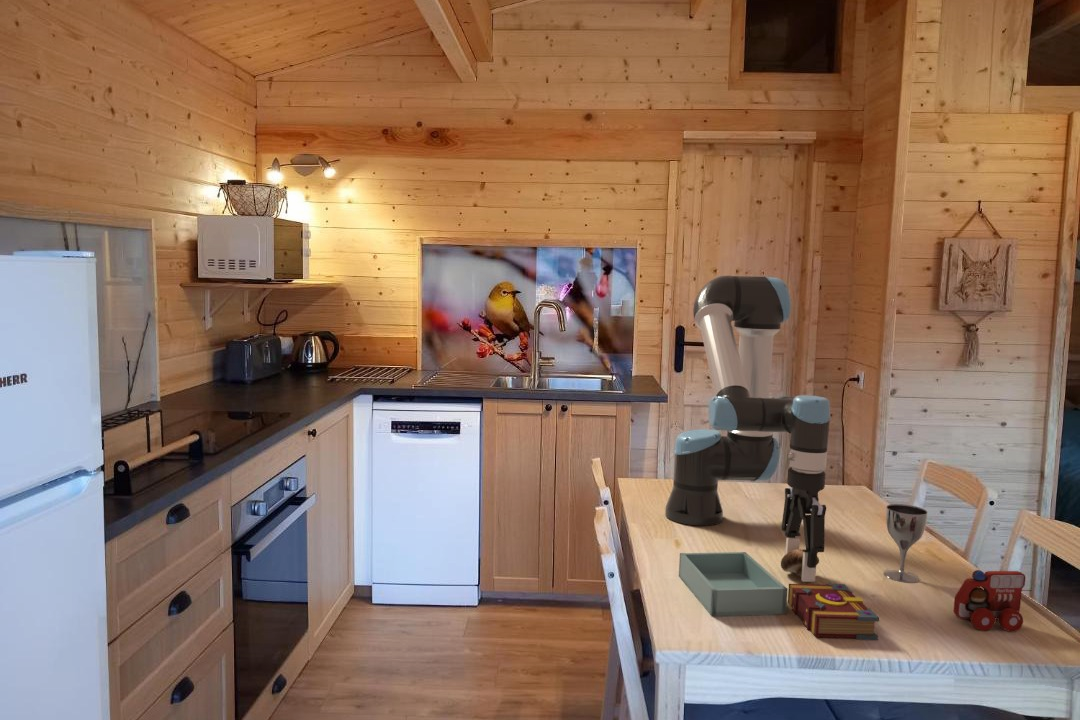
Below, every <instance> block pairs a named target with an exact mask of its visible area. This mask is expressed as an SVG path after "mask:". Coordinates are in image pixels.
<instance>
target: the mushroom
mask: <svg viewBox="0 0 1080 720" xmlns="http://www.w3.org/2000/svg"><path fill="white" fill-rule="evenodd" d="M802 563H803V549H802V548H799V549H797V550H792V551H790V552H788V553H787V554H786V555H785V554H784V555H783V557H782V558H781V560H780V568H781V569H782V570H783V571H784V572H789V573H795V574H796V575H797V576H798V577H802ZM819 563H820V559H819V557H818V556H817V563H816V566H817V565H819Z"/></svg>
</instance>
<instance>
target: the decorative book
mask: <svg viewBox="0 0 1080 720" xmlns="http://www.w3.org/2000/svg"><path fill="white" fill-rule="evenodd" d="M787 603H788V605H789V606H790V607H791V610H790V611H791V612H792V613H793V614H794V615H797V616H798V617H799V618H800V619H801V621H802V622H803V627H806V628H807V629H806V628H805V629H806V630H807V631H810V632H811V633H812V634H813V635H814V637H815V638H836V639H837V638H840V639H841V638H843V639H845V638H846V639H856V640H865V641H867V640H868V641H869V640H870V641H878V640H879V636H878V635H877V633H875V625H876V624H875V623H876V622H880V616H879V615H877V613H875V612H874V611H873V610H872V609H871V608H870V607H869V608H868V607H867V606H866V605H865V604H864V600H863V599H862V598H861V597H858V596H857V597H856V595H855V594H854V593H853V591H852V590H851V589H850V587H848V586H847V585H846V584H845V583H825V584H815V583H788V590H787Z"/></svg>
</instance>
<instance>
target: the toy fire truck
mask: <svg viewBox="0 0 1080 720" xmlns="http://www.w3.org/2000/svg"><path fill="white" fill-rule="evenodd" d="M971 576H972V577H970V578H966V579H964V581H963V583H962V585H961V586H960V588H959V589H958V591H957V592H956V594H955V596H954V601H953V614H954V615H955V616H956V617H958V618H959V619H970V623H971V625H973V627H974V628H976V629H977V630H979V631H981V632H982V631H983V632H987V631H989V630H991V629H993V627H994V626H995V624H996V619H997V621H998V622H997V623H998V626H1000V627H1001V628H1002V629H1004V630H1005V631H1007V632H1016V631H1018V630H1020V629H1021V628H1022V626H1023V625H1024V624H1023V623H1024V617H1023V615H1022V614H1021V613H1020V611H1021V609H1020V608H1021V601H1022V600H1021V599H1022V592H1023V591H1022V590H1023V589H1024V587H1025V586H1026V575H1025V574H1024V573H1022V572H1021V571H1018V570H1007V571H1006V570H987V571H985V572H984V571H982V570H980V569H976V570H974V571H973V572H972V575H971Z"/></svg>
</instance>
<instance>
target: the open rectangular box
mask: <svg viewBox="0 0 1080 720" xmlns="http://www.w3.org/2000/svg"><path fill="white" fill-rule="evenodd" d="M678 563H679V565H678V577H679V578H680V580H681V581H682V582H683V583H684V585H685V586H686V587H687V588H688V589H689V591H690V592H691V593H692V594H693V595H694V597H695V598H696V599H697V601H699V603H701V605H702V607H704V609H705V610H706V611H707V612H708V614H709V615H710V616H711V617H734V616H735V617H737V616H738V617H739V616H769V615H772V616H773V615H786V614H787V605H788V604H787V603H788V590H789V588H787V587H786V586H785V585H784V584H783V583H781V582H780V581H779V579H778V578H776V577H775V576H774V575H772V573H770V572H769V571H768V570H767V569H766V568H764V567H763V566H762V564H760V563H758V562H757V561H756V560H755V558H753V557H752V556H751V555H750V554H748V553H747V552H746V551H745V552H744V551H738V552H736V551H731V552H729V551H728V552H727V551H726V552H680V553H679V562H678Z"/></svg>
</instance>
